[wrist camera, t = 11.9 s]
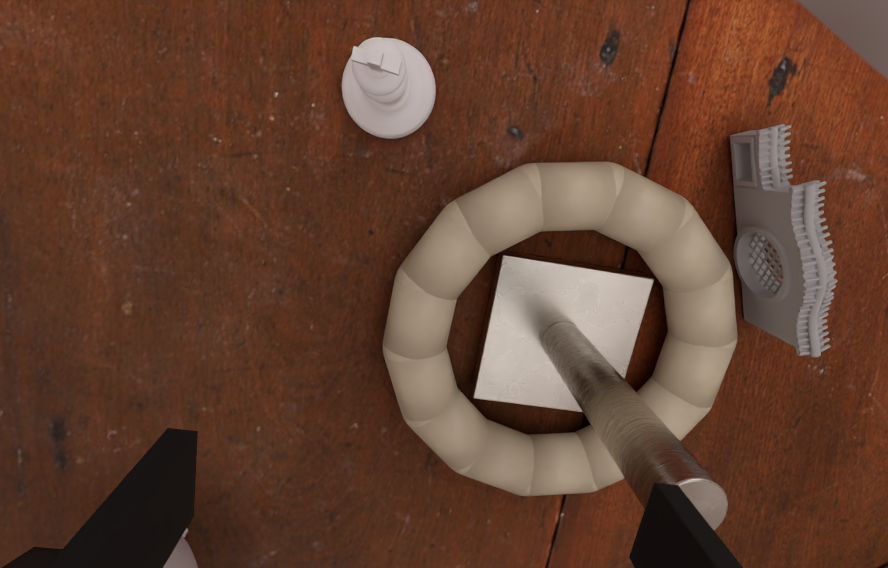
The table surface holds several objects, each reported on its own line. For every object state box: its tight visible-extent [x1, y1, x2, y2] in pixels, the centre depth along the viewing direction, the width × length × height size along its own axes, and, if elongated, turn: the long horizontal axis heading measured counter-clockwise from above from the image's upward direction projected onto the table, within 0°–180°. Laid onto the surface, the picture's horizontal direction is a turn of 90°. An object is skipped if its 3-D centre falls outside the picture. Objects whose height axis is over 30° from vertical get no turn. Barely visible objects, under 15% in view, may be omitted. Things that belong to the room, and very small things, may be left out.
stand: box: [470, 250, 728, 530], centre depth 23 cm, size 9×9×16 cm
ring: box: [383, 162, 737, 496], centre depth 28 cm, size 20×21×4 cm
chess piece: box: [342, 37, 436, 139], centre depth 21 cm, size 5×5×10 cm
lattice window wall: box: [730, 124, 837, 357], centre depth 26 cm, size 12×2×6 cm, turn 14°
